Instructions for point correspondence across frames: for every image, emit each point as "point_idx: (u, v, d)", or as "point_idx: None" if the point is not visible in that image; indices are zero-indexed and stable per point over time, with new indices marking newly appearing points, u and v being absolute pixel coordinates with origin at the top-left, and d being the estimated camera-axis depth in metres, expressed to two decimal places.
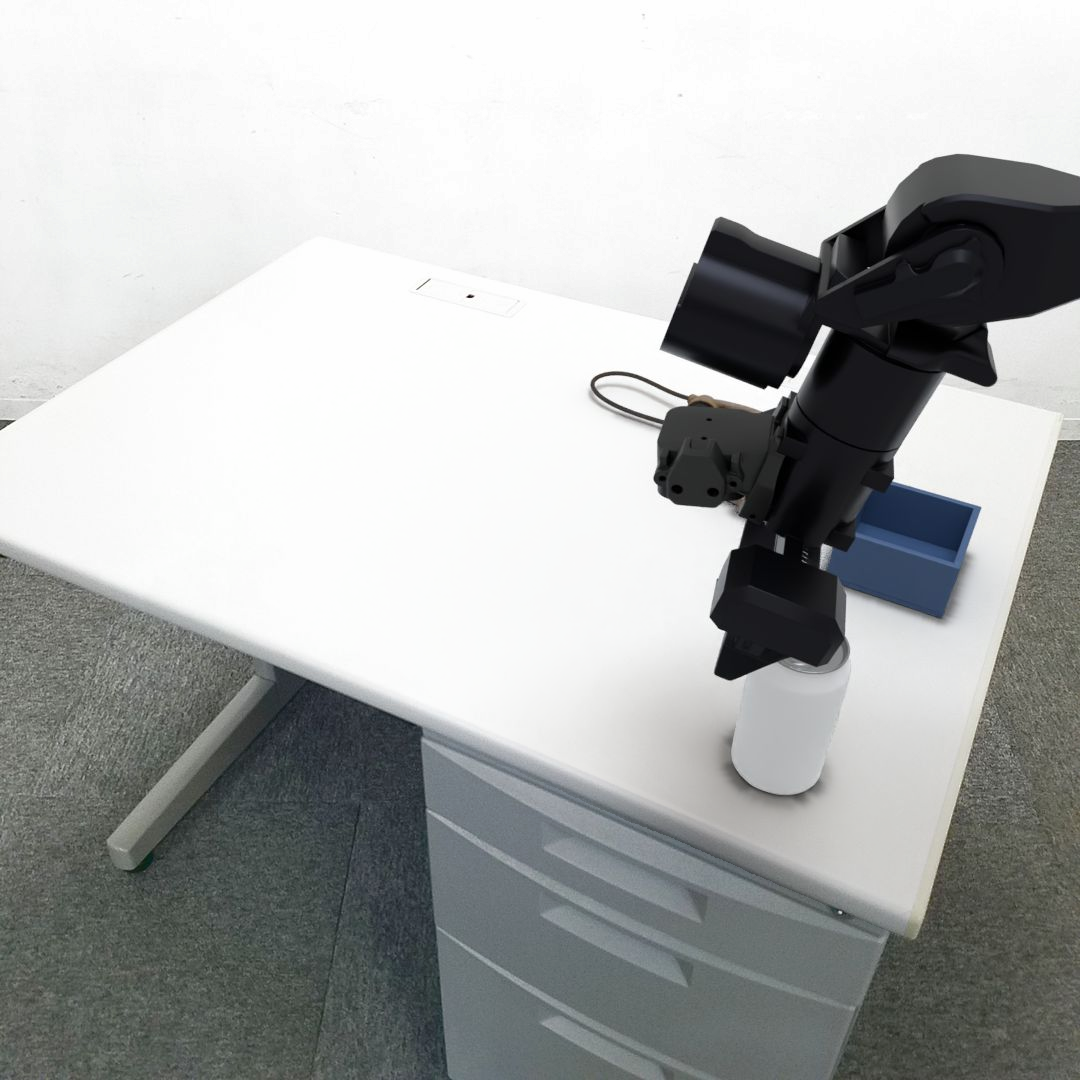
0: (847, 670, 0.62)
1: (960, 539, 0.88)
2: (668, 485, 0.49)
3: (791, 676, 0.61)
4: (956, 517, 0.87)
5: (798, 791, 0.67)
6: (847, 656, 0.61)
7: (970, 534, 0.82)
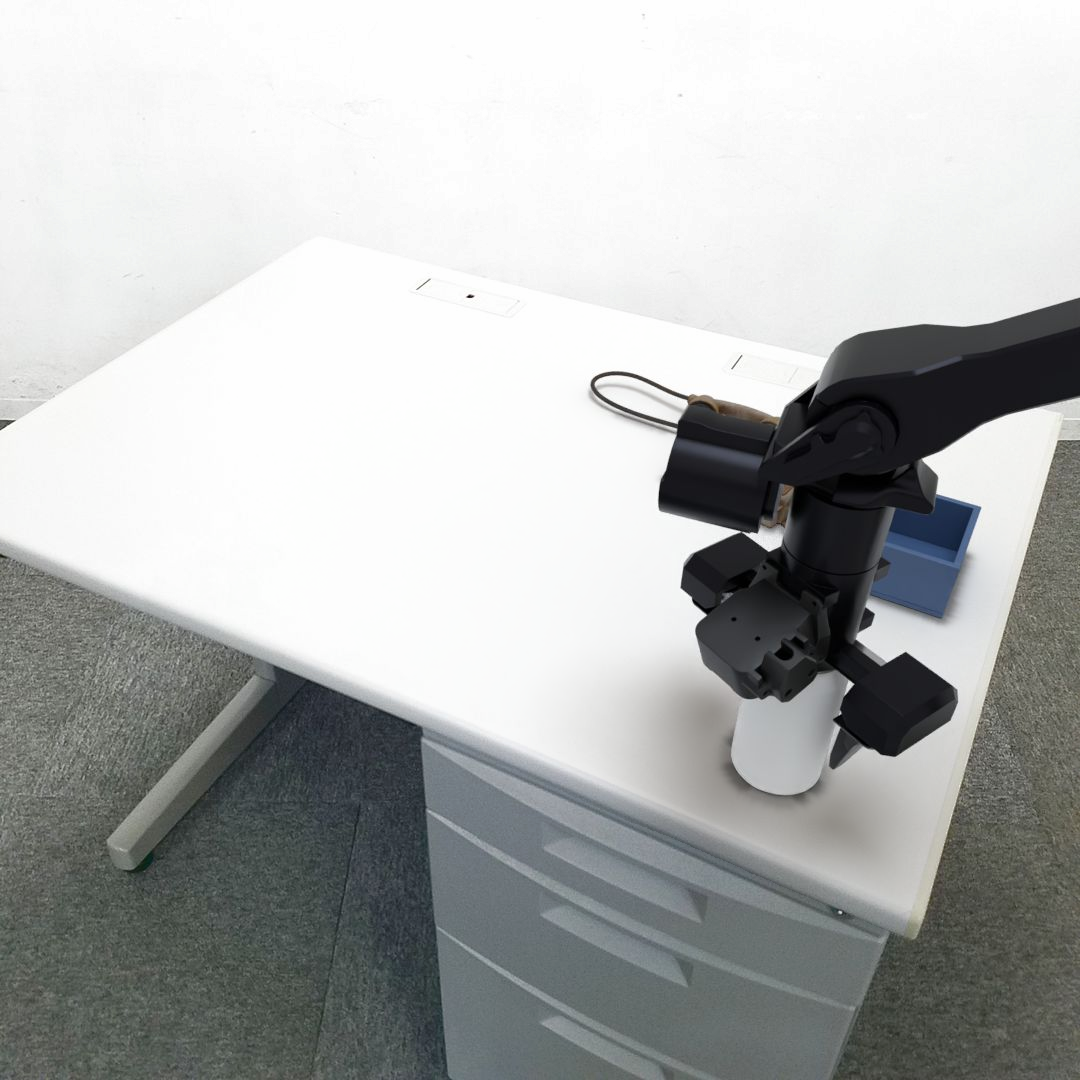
0: None
1: (960, 539, 0.88)
2: (782, 695, 0.54)
3: None
4: (956, 517, 0.87)
5: (798, 791, 0.67)
6: None
7: (970, 534, 0.82)
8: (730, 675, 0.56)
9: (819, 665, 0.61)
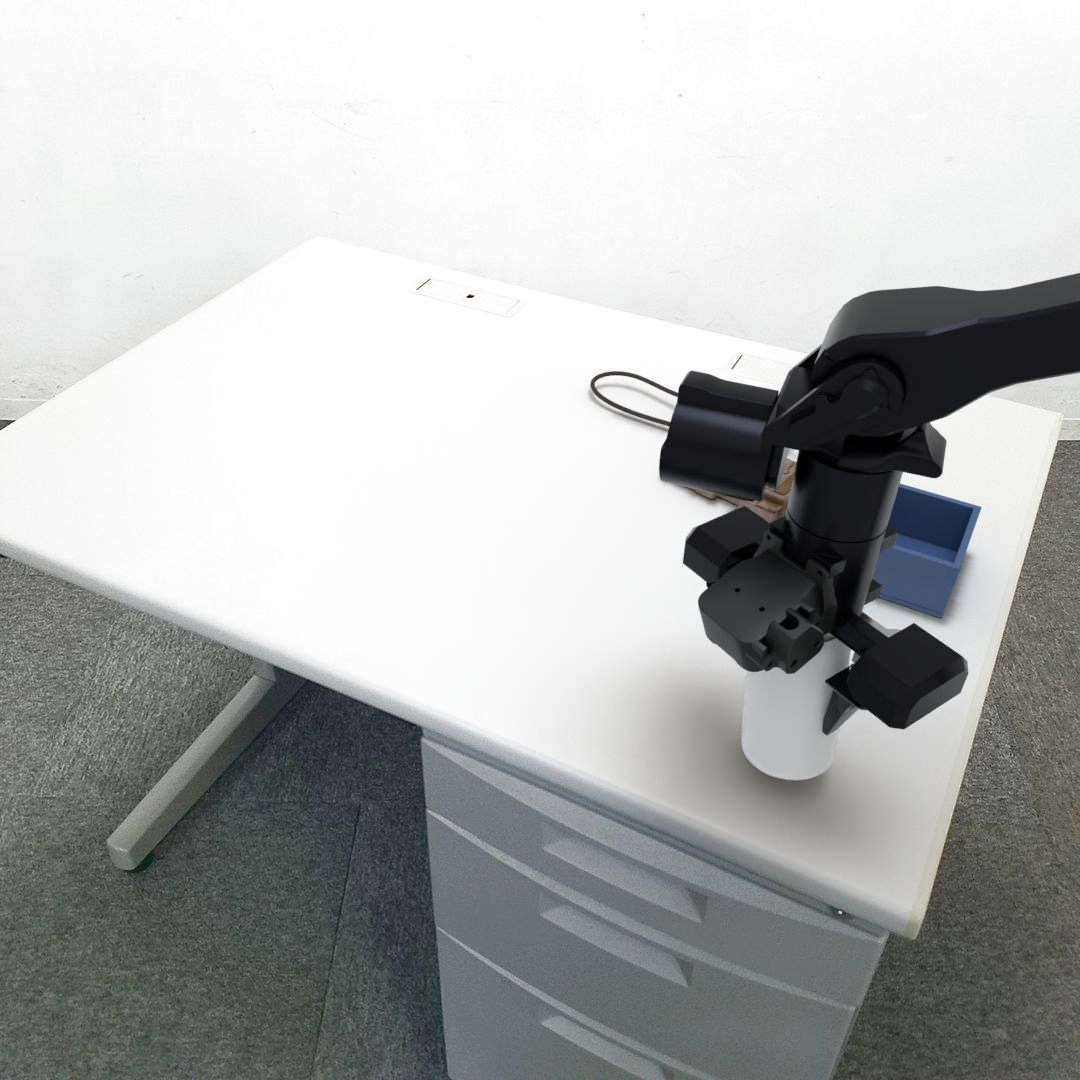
0: None
1: (960, 539, 0.88)
2: (788, 666, 0.53)
3: None
4: (956, 517, 0.87)
5: (811, 775, 0.65)
6: None
7: (970, 534, 0.82)
8: (734, 647, 0.55)
9: None
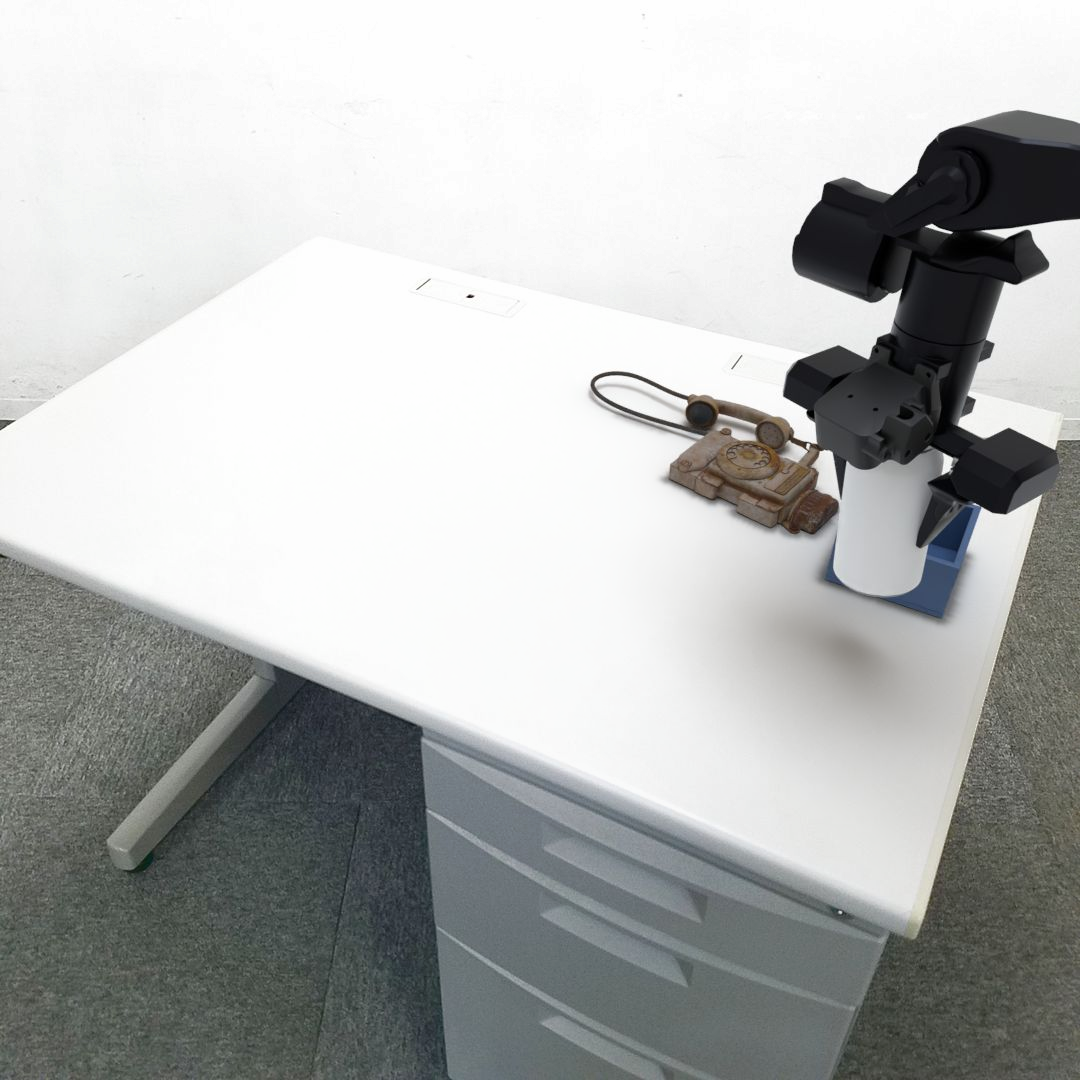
0: (940, 455, 0.66)
1: (960, 539, 0.88)
2: (902, 455, 0.58)
3: (889, 460, 0.65)
4: (956, 517, 0.87)
5: (902, 591, 0.71)
6: None
7: (970, 534, 0.82)
8: (850, 445, 0.60)
9: None
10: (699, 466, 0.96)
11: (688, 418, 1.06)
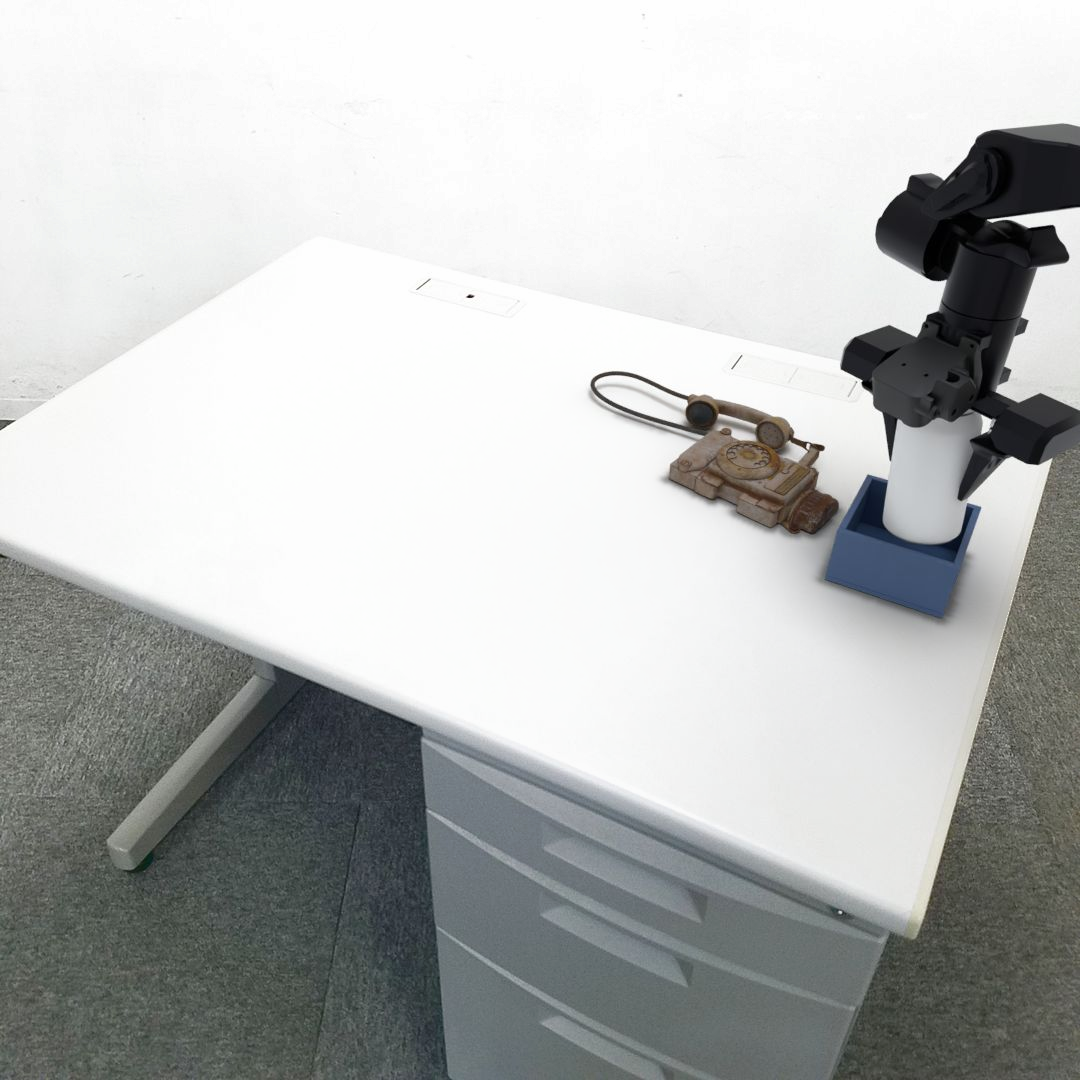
0: (980, 419, 0.76)
1: (960, 539, 0.88)
2: (950, 413, 0.69)
3: (935, 422, 0.75)
4: None
5: (945, 539, 0.81)
6: None
7: (970, 534, 0.82)
8: (904, 405, 0.71)
9: None
10: (699, 466, 0.96)
11: (688, 418, 1.06)
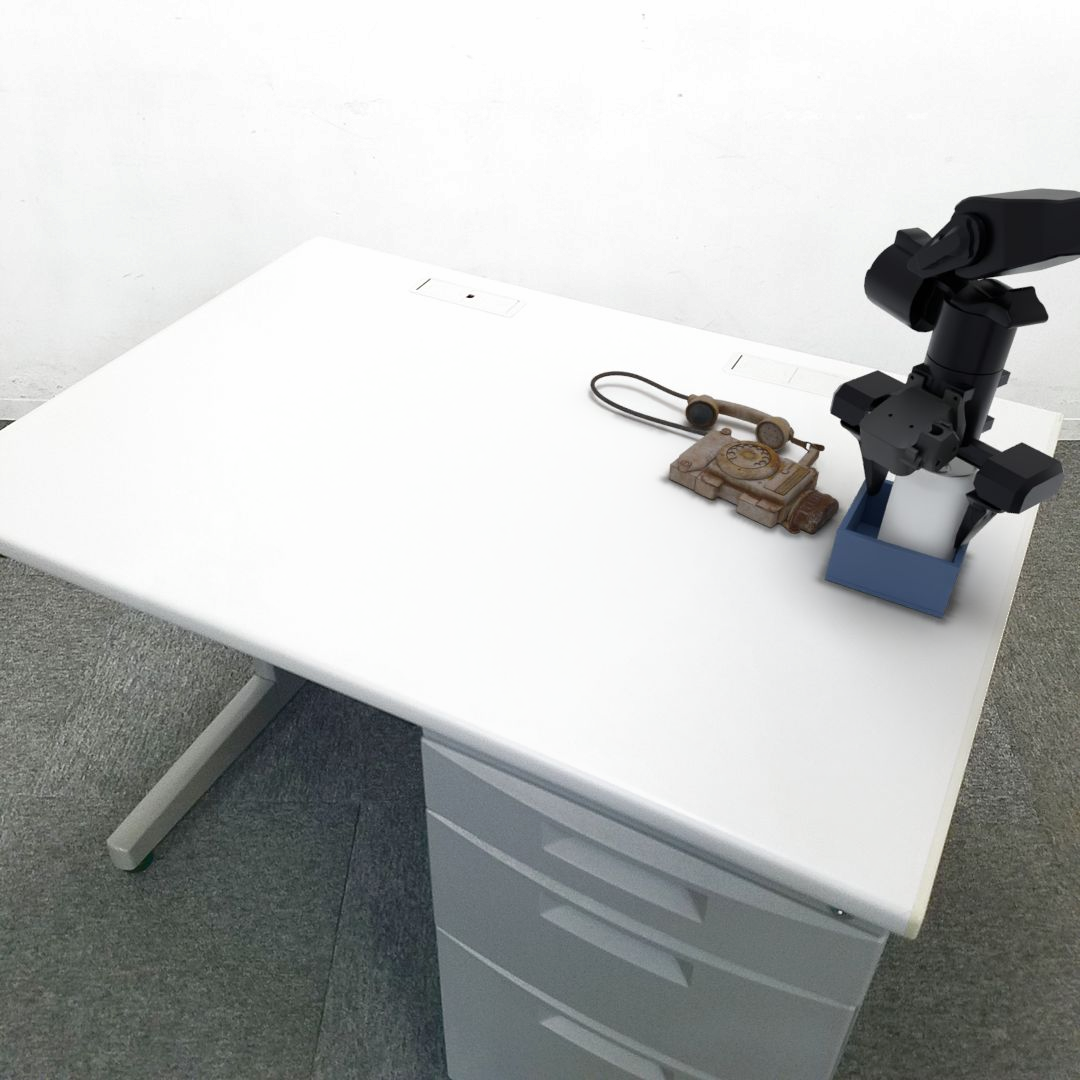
0: None
1: None
2: (934, 464, 0.71)
3: (935, 480, 0.78)
4: None
5: None
6: None
7: None
8: (889, 455, 0.73)
9: (957, 472, 0.78)
10: (699, 466, 0.96)
11: (688, 418, 1.06)
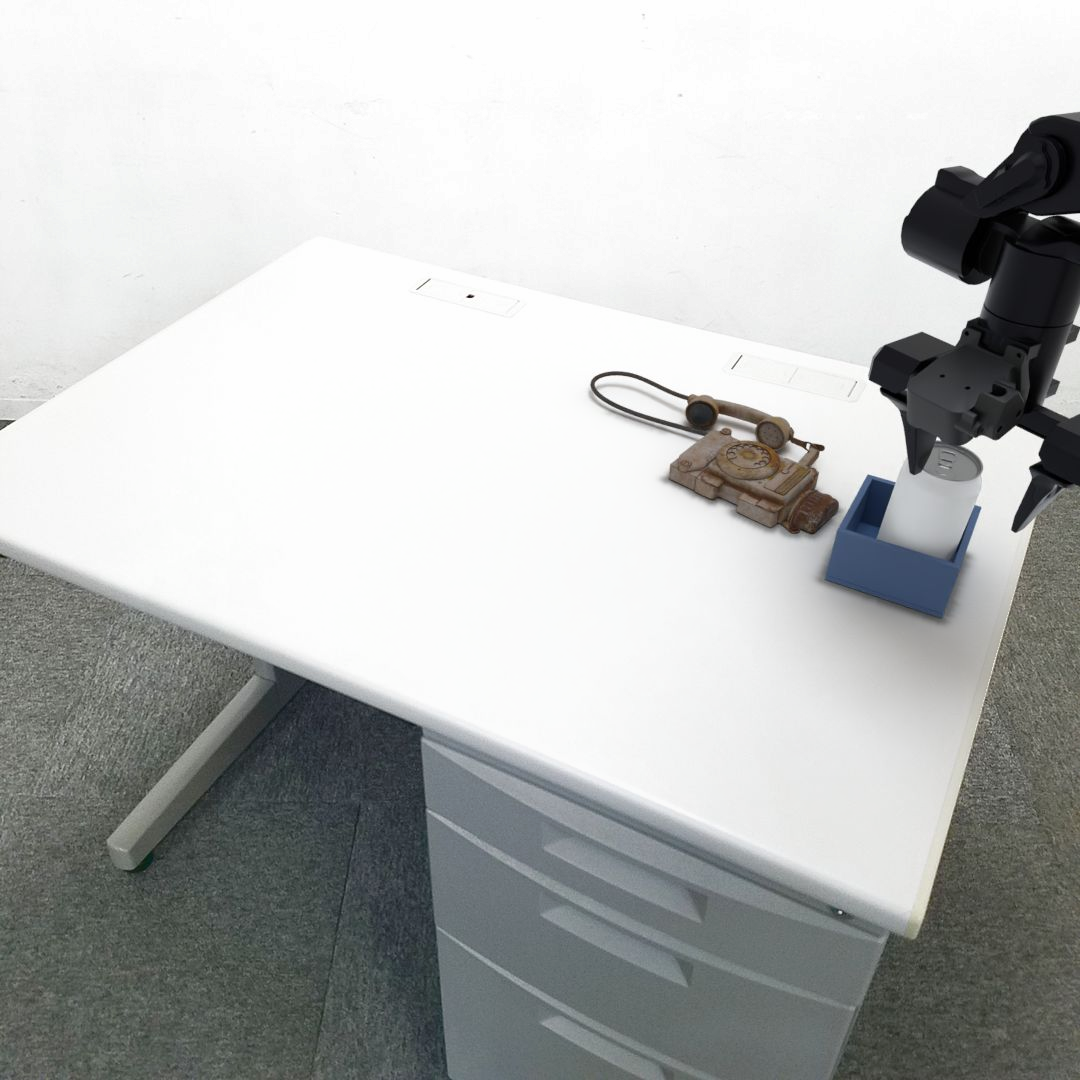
0: (980, 481, 0.78)
1: (960, 539, 0.88)
2: (995, 430, 0.62)
3: (939, 484, 0.77)
4: None
5: None
6: (981, 469, 0.78)
7: (970, 534, 0.82)
8: (942, 421, 0.64)
9: (961, 475, 0.77)
10: (699, 466, 0.96)
11: (688, 418, 1.06)
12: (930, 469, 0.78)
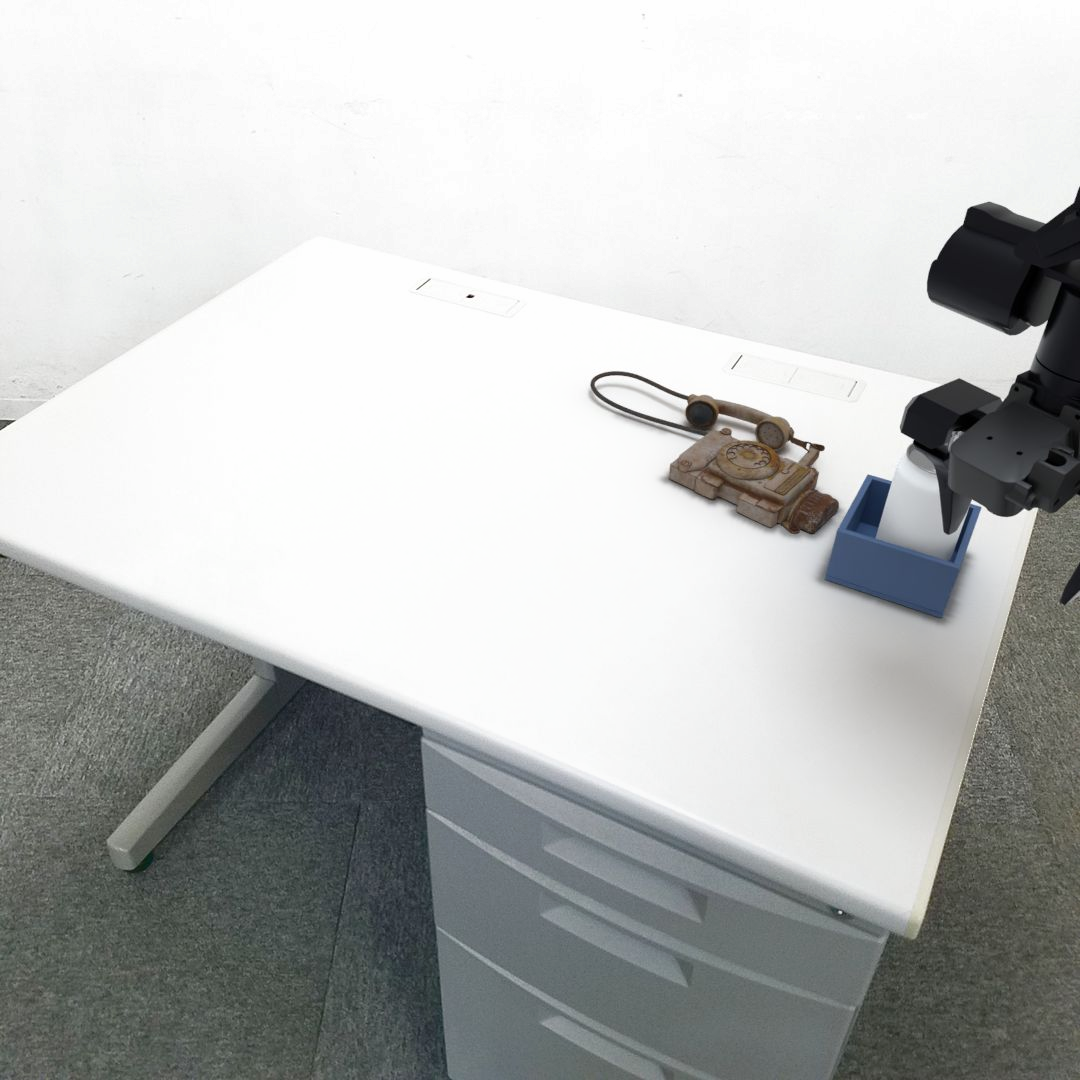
0: None
1: (960, 539, 0.88)
2: (1052, 504, 0.55)
3: (934, 480, 0.78)
4: None
5: None
6: None
7: (970, 534, 0.82)
8: (991, 490, 0.57)
9: None
10: (699, 466, 0.96)
11: (688, 418, 1.06)
12: (925, 466, 0.79)
